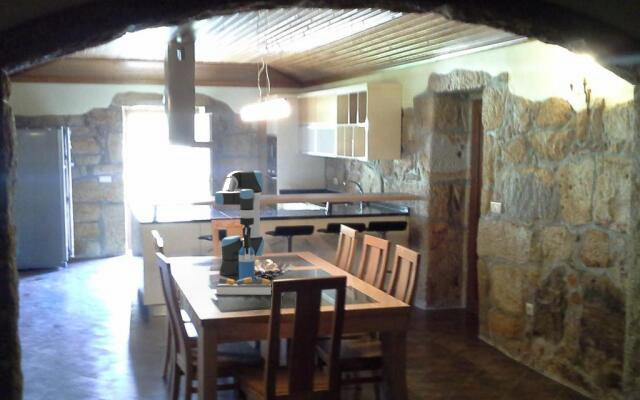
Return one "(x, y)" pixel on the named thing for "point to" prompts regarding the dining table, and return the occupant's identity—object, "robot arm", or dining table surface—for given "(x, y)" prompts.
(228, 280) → the rocker
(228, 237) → the robot arm
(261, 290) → the power strip
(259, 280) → the rocker
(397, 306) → the dining table surface
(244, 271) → the water bottle
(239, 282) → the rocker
